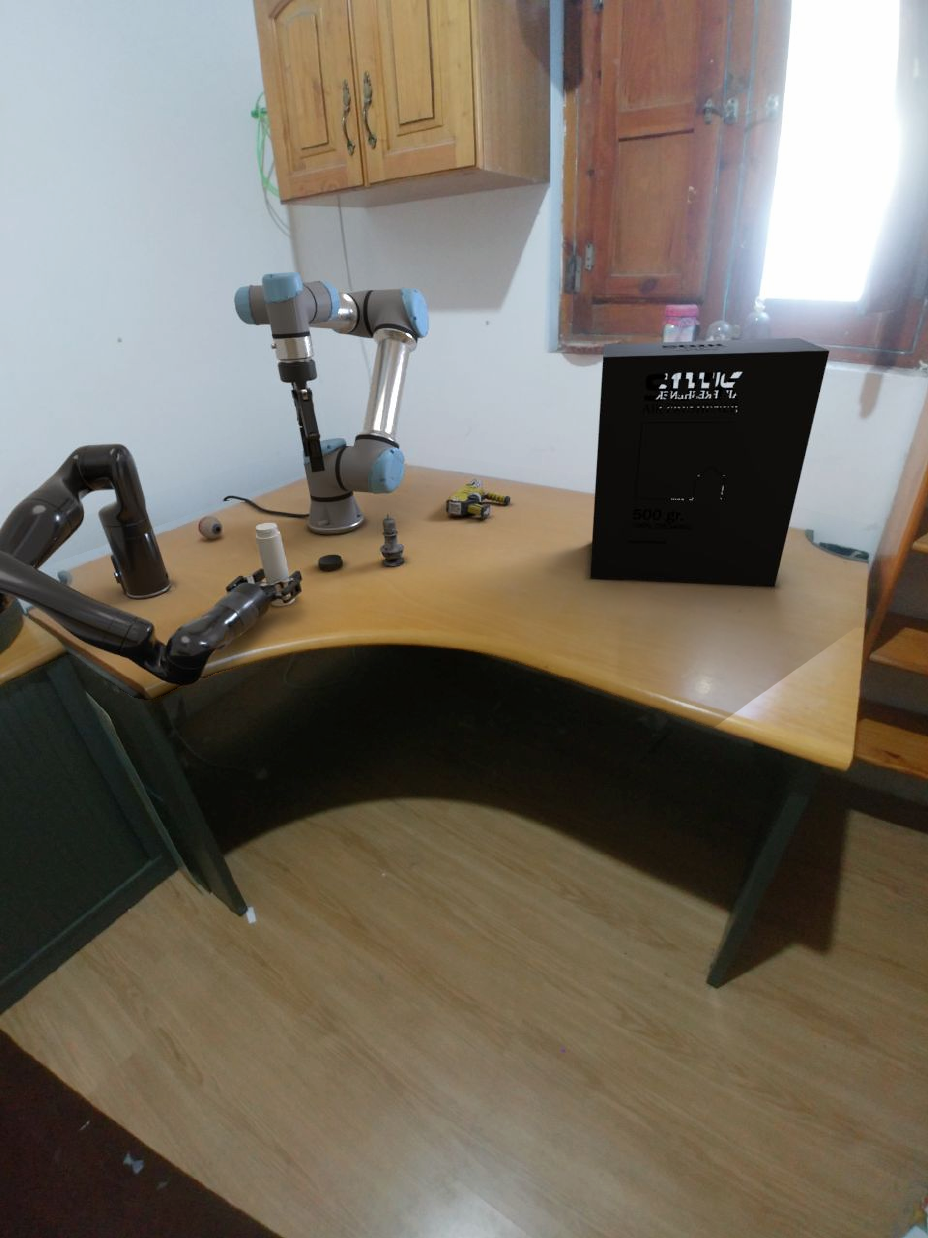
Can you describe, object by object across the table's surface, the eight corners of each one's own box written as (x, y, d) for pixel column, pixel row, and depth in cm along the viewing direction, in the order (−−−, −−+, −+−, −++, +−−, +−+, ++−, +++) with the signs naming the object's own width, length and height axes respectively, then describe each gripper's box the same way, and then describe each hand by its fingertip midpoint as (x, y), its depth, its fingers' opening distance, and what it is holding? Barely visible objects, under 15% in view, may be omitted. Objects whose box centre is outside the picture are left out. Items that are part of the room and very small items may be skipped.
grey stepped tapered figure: (401, 567, 143) (396, 519, 137) (378, 566, 144) (371, 518, 138) (408, 556, 148) (403, 510, 142) (385, 556, 149) (379, 509, 143)
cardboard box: (755, 547, 142) (798, 337, 120) (774, 586, 125) (829, 350, 102) (592, 542, 150) (603, 344, 127) (589, 578, 133) (603, 356, 110)
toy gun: (518, 484, 183) (472, 477, 187) (496, 507, 163) (444, 499, 167) (517, 499, 185) (471, 492, 189) (494, 524, 165) (443, 515, 169)
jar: (284, 607, 128) (267, 531, 120) (266, 604, 130) (248, 529, 121) (299, 597, 132) (283, 523, 123) (281, 594, 134) (264, 520, 125)
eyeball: (211, 543, 162) (206, 522, 159) (197, 539, 165) (190, 519, 162) (230, 535, 166) (224, 515, 163) (215, 532, 169) (209, 511, 166)
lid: (344, 560, 148) (343, 553, 147) (341, 570, 143) (340, 563, 142) (321, 562, 148) (319, 555, 147) (317, 572, 143) (316, 564, 142)
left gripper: (212, 623, 119) (256, 586, 133) (276, 629, 116) (314, 591, 130) (202, 590, 116) (248, 555, 129) (268, 595, 112) (308, 559, 126)
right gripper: (272, 355, 132) (291, 452, 143) (281, 369, 111) (303, 481, 122) (307, 351, 134) (323, 447, 145) (322, 364, 113) (340, 475, 124)
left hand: (281, 573), depth 129 cm, fingers open, 8 cm apart
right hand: (314, 463), depth 133 cm, fingers open, 13 cm apart
